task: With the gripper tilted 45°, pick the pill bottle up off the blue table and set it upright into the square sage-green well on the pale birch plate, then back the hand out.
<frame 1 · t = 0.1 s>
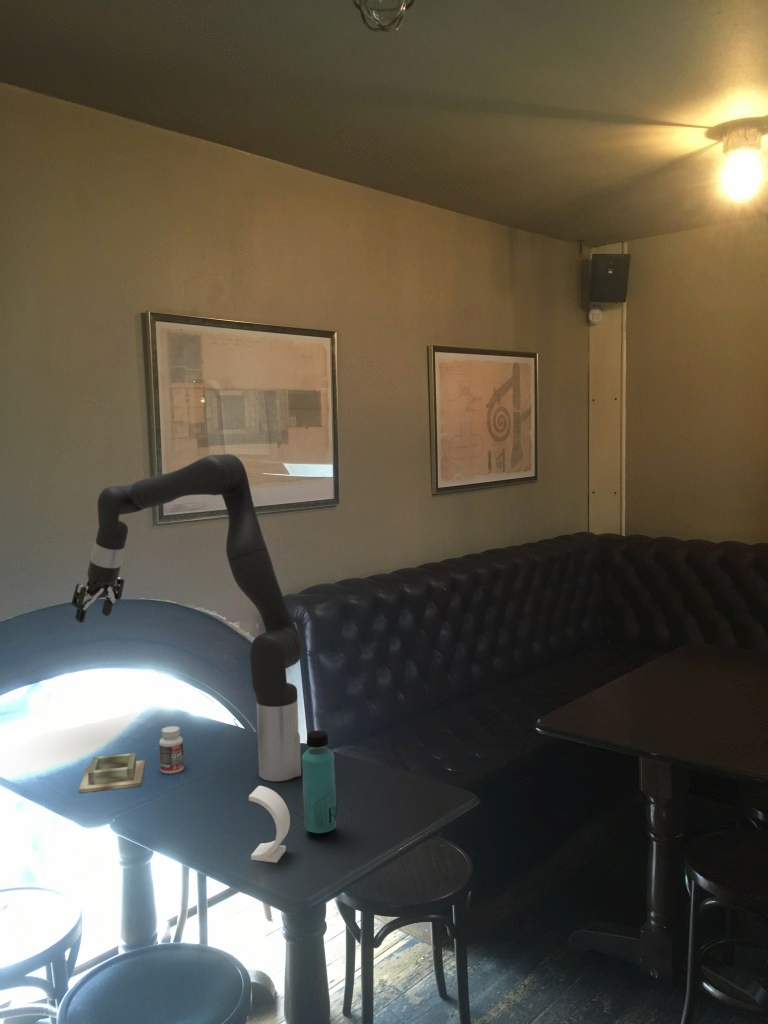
hand: (92, 617, 208), 31 cm above the table, tool tilted 20°, fingers open, 8 cm apart
beverage bottle: (320, 833, 157), on the table
headphone stand: (271, 856, 149), on the table
pill bottle: (172, 770, 188), on the table
holder: (113, 777, 184), on the table
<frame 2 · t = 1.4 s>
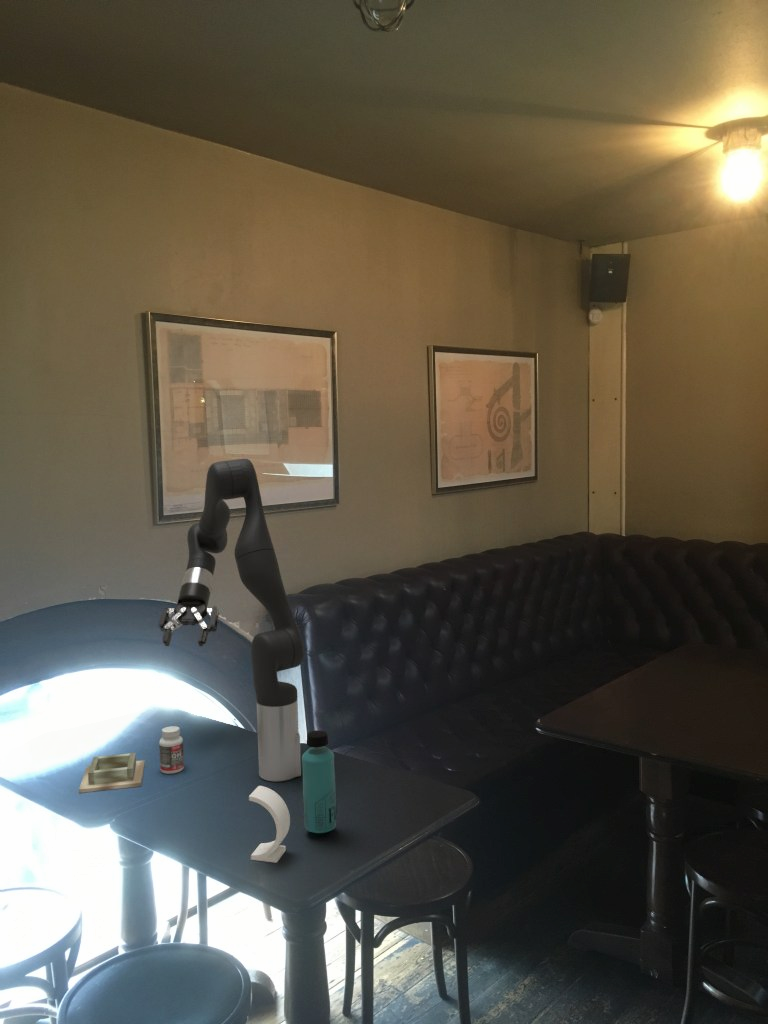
hand: (183, 644, 197), 27 cm above the table, tool tilted 45°, fingers open, 8 cm apart
nothing on the table moved.
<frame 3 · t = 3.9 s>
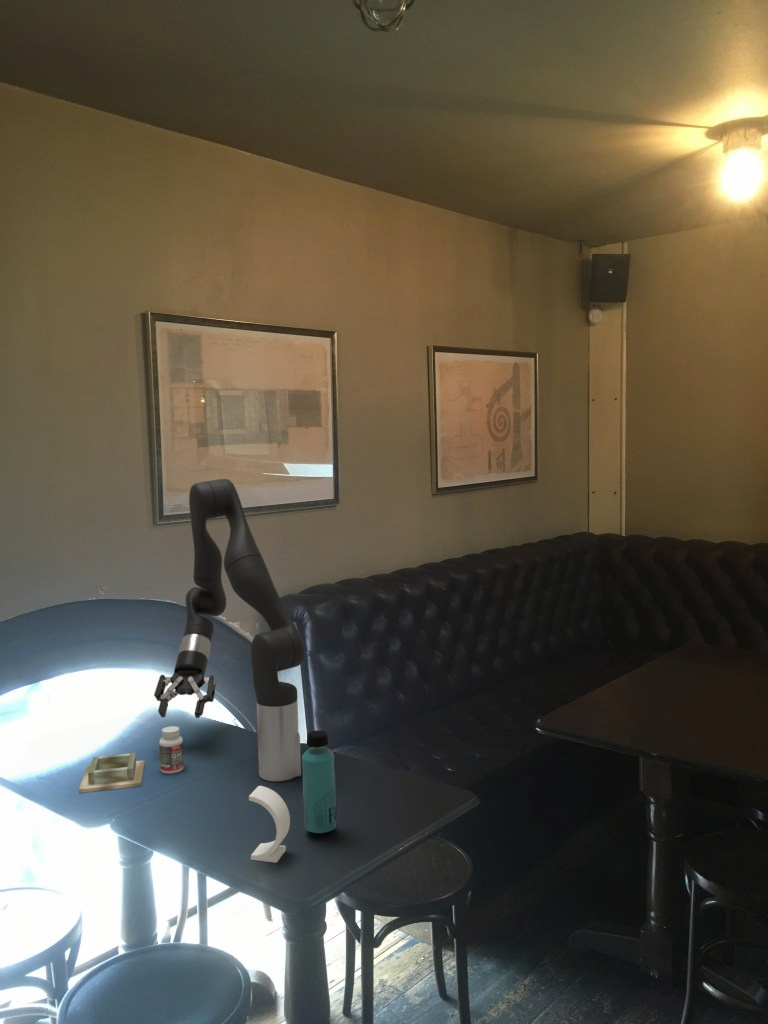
hand: (179, 716, 193), 11 cm above the table, tool tilted 45°, fingers open, 8 cm apart
nothing on the table moved.
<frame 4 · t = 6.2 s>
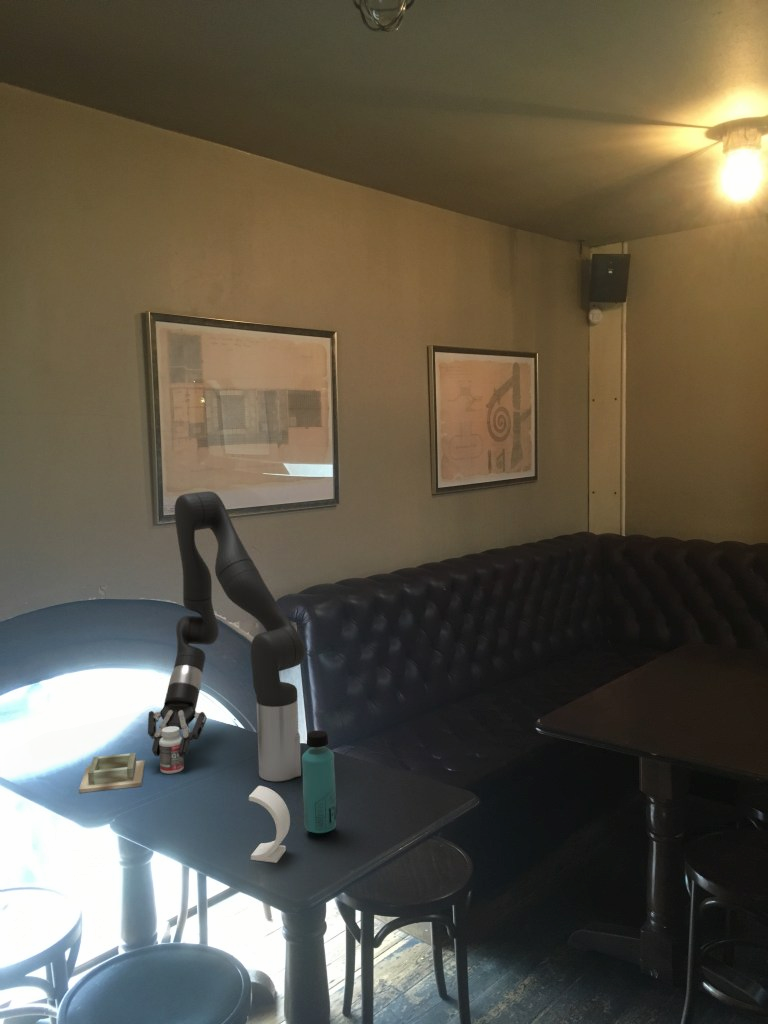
hand: (168, 755, 186), 4 cm above the table, tool tilted 45°, fingers closed on pill bottle, 5 cm apart
pill bottle: (172, 770, 188), on the table, touching gripper
everything else where it was.
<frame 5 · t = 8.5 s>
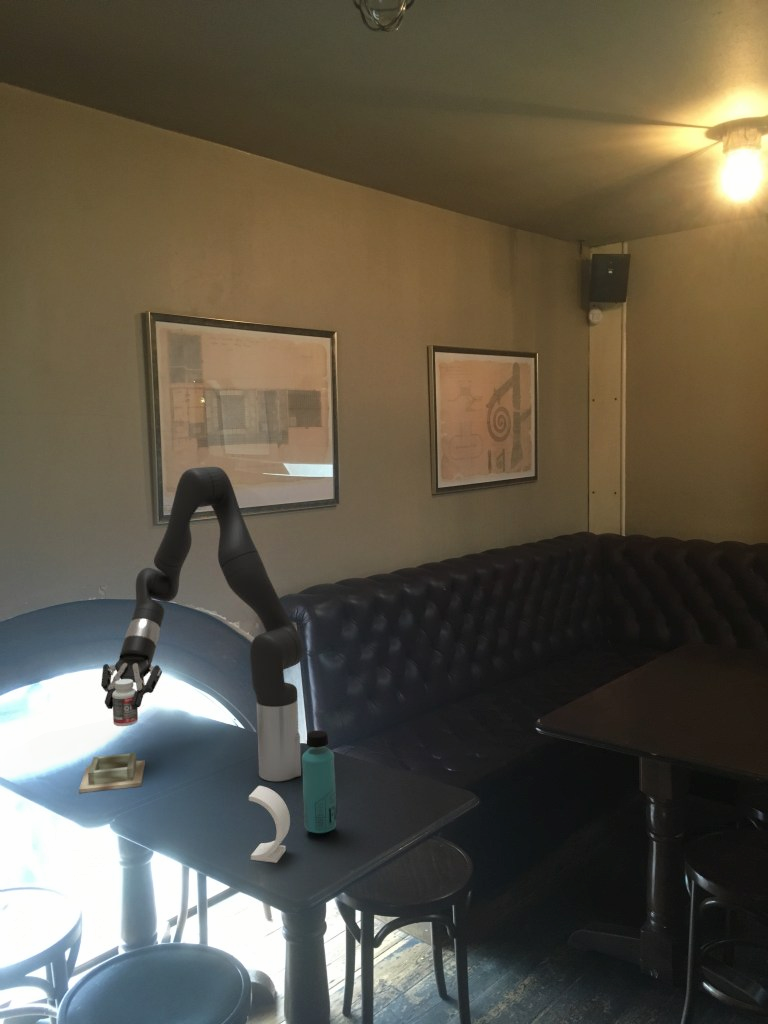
hand: (121, 707, 183), 16 cm above the table, tool tilted 45°, fingers closed on pill bottle, 5 cm apart
pill bottle: (125, 723, 185), point 12 cm above the table, touching gripper
everything else where it was.
when the fingers open (7 cm above the table, at t = 11.0 s): pill bottle drops 2 cm, resting on holder.
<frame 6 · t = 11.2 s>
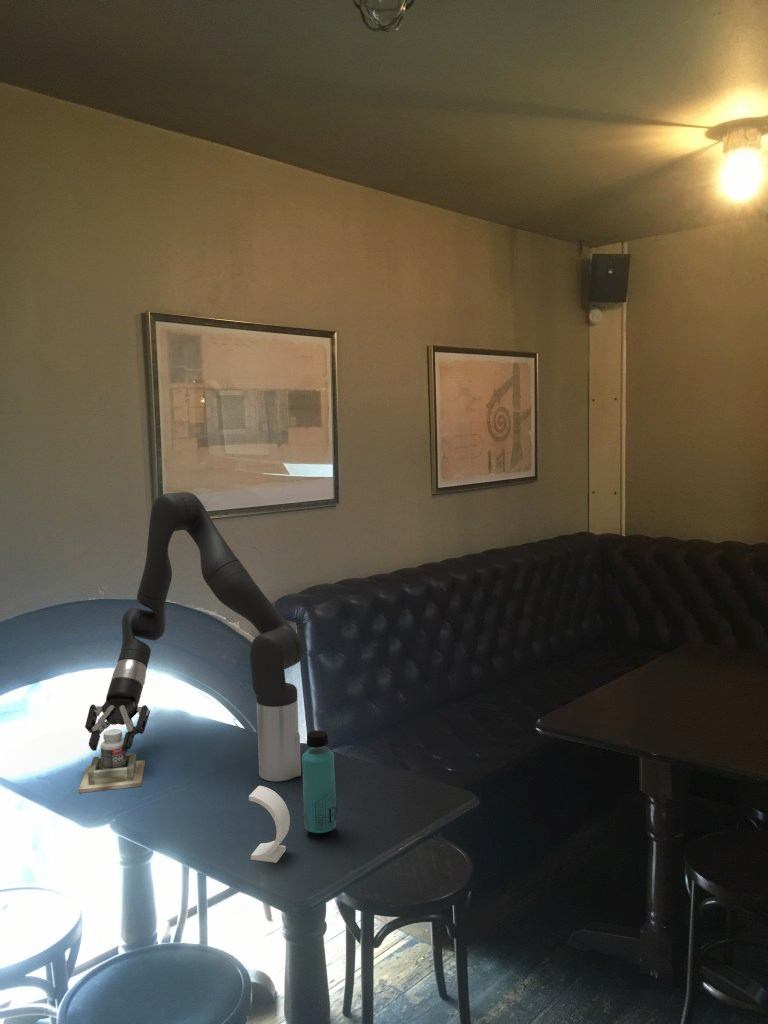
hand: (108, 749, 182), 7 cm above the table, tool tilted 45°, fingers open, 7 cm apart
pill bottle: (114, 774, 184), point 1 cm above the table, touching holder
everything else where it was.
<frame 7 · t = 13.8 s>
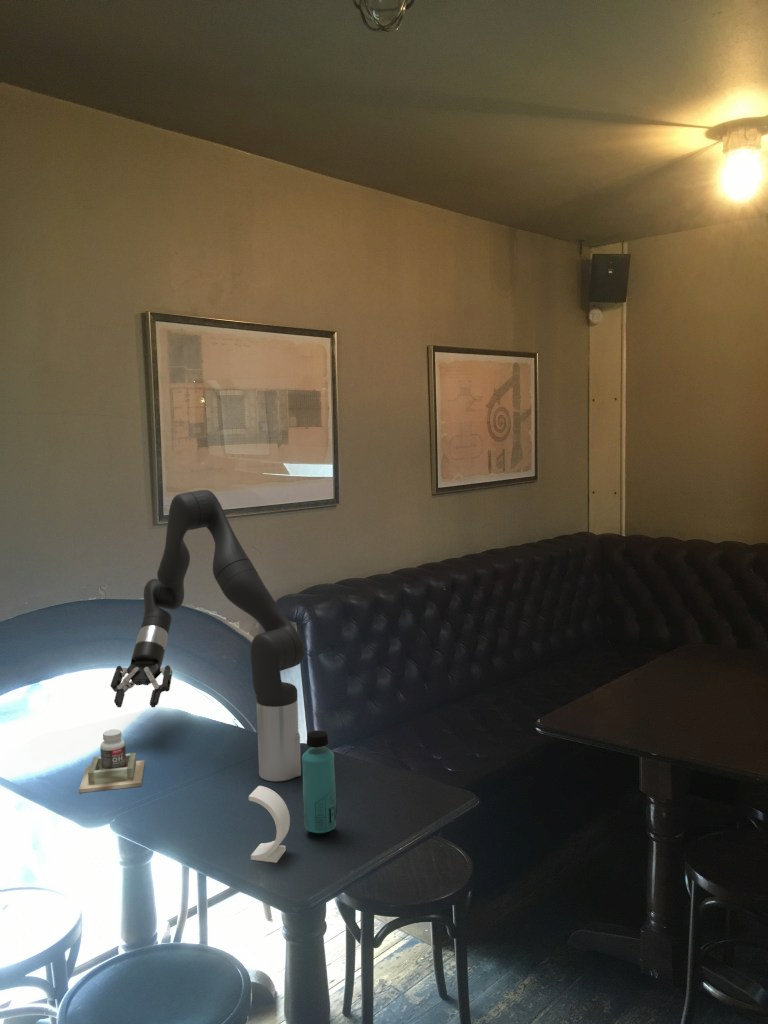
hand: (135, 706, 196), 12 cm above the table, tool tilted 45°, fingers open, 8 cm apart
nothing on the table moved.
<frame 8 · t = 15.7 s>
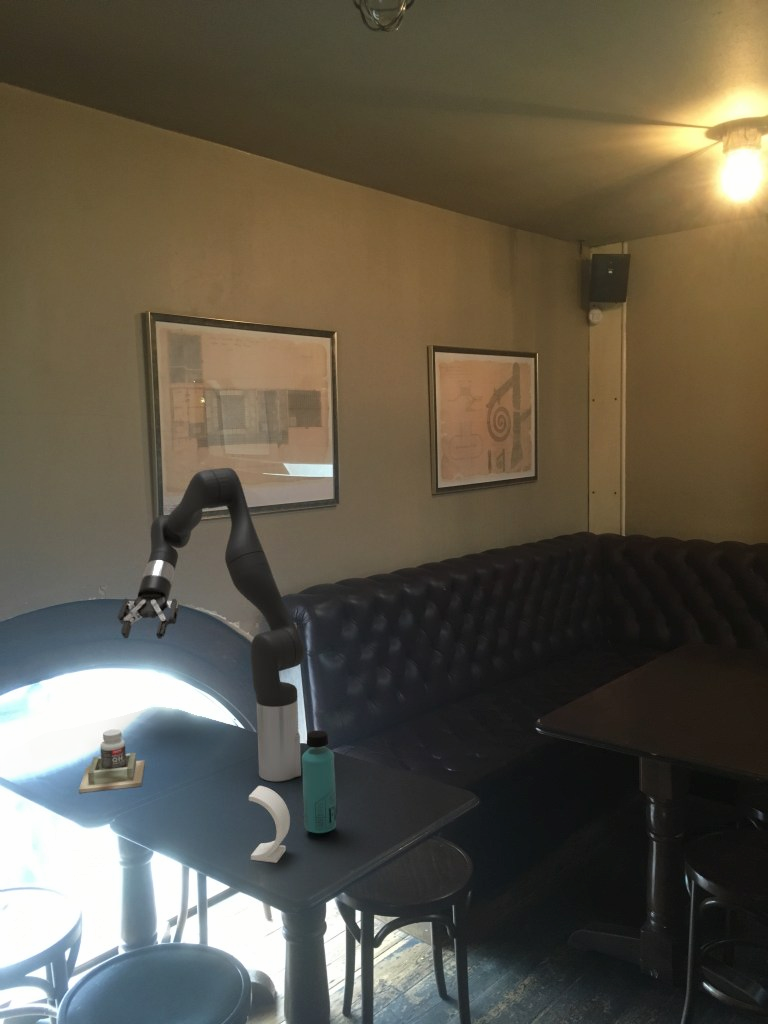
hand: (141, 636, 197), 29 cm above the table, tool tilted 45°, fingers open, 8 cm apart
nothing on the table moved.
at the end: pill bottle 0.3 cm off-centre on the holder, point 0.6 cm above the holder's base; pill bottle tilted 0°; the gripper is holding nothing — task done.
